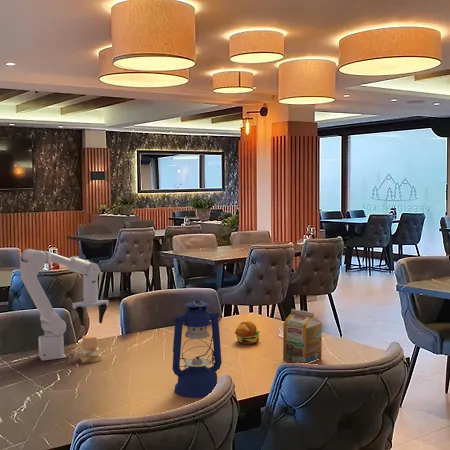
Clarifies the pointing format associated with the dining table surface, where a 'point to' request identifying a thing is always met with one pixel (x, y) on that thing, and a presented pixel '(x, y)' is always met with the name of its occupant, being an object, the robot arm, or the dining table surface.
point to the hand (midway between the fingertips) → (91, 323)
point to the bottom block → (90, 358)
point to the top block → (89, 352)
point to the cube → (89, 342)
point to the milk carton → (302, 337)
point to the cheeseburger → (247, 333)
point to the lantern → (196, 367)
